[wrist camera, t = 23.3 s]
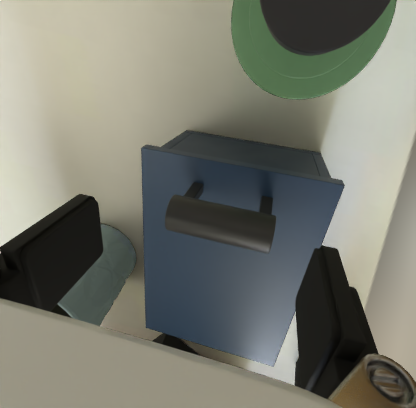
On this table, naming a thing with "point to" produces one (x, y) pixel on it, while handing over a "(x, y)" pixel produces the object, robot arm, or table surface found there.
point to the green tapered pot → (100, 280)
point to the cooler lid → (228, 248)
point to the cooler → (250, 152)
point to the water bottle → (307, 42)
